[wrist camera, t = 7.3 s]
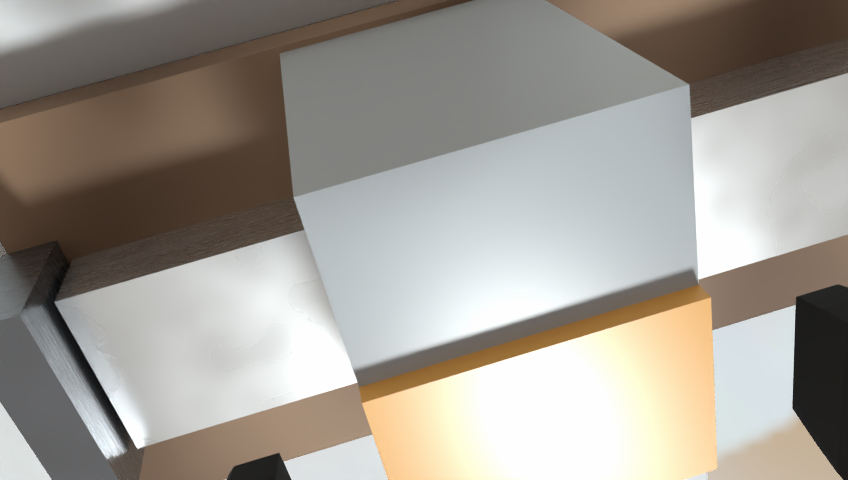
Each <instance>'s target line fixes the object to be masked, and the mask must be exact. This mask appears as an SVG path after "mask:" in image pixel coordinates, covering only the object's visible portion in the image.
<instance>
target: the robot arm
mask: <svg viewBox="0 0 848 480" xmlns="http://www.w3.org/2000/svg"><path fill="white" fill-rule="evenodd" d="M793 410H794V411H795V413H796V414H797V416H798V417H799V419H800V420H801V422H802V423H803V425H804V426H805V427H806V429H807V431H808V432H809V433H810V435H811V436H812V438H813V439H814V441H815V442H816V444H817V445H818V447H819V448H820V449H821V451H822V452H823V454H824V455H825V456H826V458H827V459H828V460H829V462H830V463H831V465H832V466H833V467H834V469H835V470H836V472H837V473H838V474H839V475H840V476H841V477H842V479H843V480H848V287H845V286H842V285H839V284H837V285H834V286H830V287H827V288H824V289H820V290H817V291H814V292H810V293H807V294H804V295H800V296H797V297H796V315H795V346H794V378H793ZM227 480H291V478H290V476H289V474H288V471H287V469H286V467H285V464H284V462H283V460H282V458H281V455H280V453H276V454H273V455H269V456H266V457H263V458H259V459H256V460H253V461H250V462H246V463H243V464H240V465H236V466H234V467H233V469H232V470H231V472H230V473H229V475H228V478H227Z"/></svg>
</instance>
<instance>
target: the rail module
mask: <svg viewBox="0 0 848 480" xmlns="http://www.w3.org/2000/svg"><path fill="white" fill-rule="evenodd" d="M280 63H281V73H282V84H283V94H284V104H285V115H286V125H287V135H288V146H289V156H290V166H291V177H292V187H293V197H294V200H295V203H296V206H297V209H298V212H299V215H300V218H301V221H302V224H303V226H304V229H305V232H306V235H307V238H308V241H309V244H310V247H311V250H312V253H313V255H314V258H315V261H316V264H317V267H318V270H319V273H320V276H321V279H322V282H323V285H324V287H325V290H326V293H327V296H328V299H329V302H330V305H331V308H332V311H333V314H334V316H335V319H336V322H337V325H338V328H339V331H340V334H341V337H342V340H343V343H344V345H345V348H346V351H347V354H348V357H349V360H350V363H351V366H352V369H353V372H354V375H355V377H356V380H357V383H358V386H359V391H360V396H361V402H362V405H363V408H364V411H365V414H366V417H367V420H368V423H369V425H370V428H371V431H372V434H373V437H374V440H375V443H376V446H377V449H378V451H379V454H380V457H381V460H382V463H383V466H384V469H385V472H386V474H387V477H388V480H708V474H707V472H709V471H712V470H716V469H717V445H716V418H715V391H714V364H713V337H712V309H711V297H710V296H709V295H708V294H707V293H706V292H705V291H704V290H703V289H702V288H701V287H700V286H699V280H698V258H697V237H696V215H695V194H694V172H693V151H692V129H691V108H690V86H689V84H688V83H686V82H684V81H683V80H681V79H679V78H677V77H676V76H674V75H672V74H671V73H669V72H667V71H665V70H664V69H662V68H660V67H659V66H657V65H655V64H654V63H652V62H650V61H648V60H647V59H645V58H643V57H642V56H640V55H638V54H636V53H635V52H633V51H631V50H630V49H628V48H626V47H624V46H623V45H621V44H619V43H618V42H616V41H614V40H613V39H611V38H609V37H607V36H606V35H604V34H602V33H601V32H599V31H597V30H595V29H594V28H592V27H590V26H589V25H587V24H585V23H583V22H582V21H580V20H578V19H577V18H575V17H573V16H572V15H570V14H568V13H566V12H565V11H563V10H561V9H560V8H558V7H556V6H554V5H553V4H551V3H549V2H548V1H546V0H473V1H469V2H465V3H462V4H458V5H454V6H451V7H447V8H443V9H440V10H436V11H432V12H429V13H425V14H422V15H418V16H414V17H411V18H407V19H403V20H400V21H396V22H392V23H389V24H385V25H381V26H378V27H374V28H370V29H367V30H363V31H359V32H356V33H352V34H348V35H345V36H341V37H337V38H334V39H330V40H326V41H323V42H319V43H315V44H312V45H308V46H305V47H301V48H297V49H294V50H290V51H286V52H283V53H280Z"/></svg>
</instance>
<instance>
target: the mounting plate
mask: <svg viewBox="0 0 848 480" xmlns="http://www.w3.org/2000/svg"><path fill="white" fill-rule="evenodd" d="M469 1H473V0H399V1H395V2H392V3H388V4H384V5H381V6H377V7H373V8H370V9H366V10H362V11H359V12H355V13H351V14H348V15H344V16H340V17H337V18H333V19H329V20H326V21H322V22H318V23H315V24H311V25H307V26H304V27H300V28H296V29H293V30H289V31H285V32H282V33H278V34H274V35H270V36H267V37H263V38H259V39H256V40H252V41H248V42H245V43H241V44H237V45H234V46H230V47H226V48H223V49H219V50H215V51H212V52H208V53H204V54H201V55H197V56H193V57H190V58H186V59H182V60H179V61H175V62H171V63H168V64H164V65H160V66H157V67H153V68H149V69H146V70H142V71H138V72H135V73H131V74H127V75H124V76H120V77H116V78H113V79H109V80H105V81H102V82H98V83H94V84H91V85H87V86H83V87H80V88H76V89H72V90H69V91H65V92H61V93H58V94H54V95H50V96H47V97H43V98H39V99H36V100H32V101H28V102H24V103H21V104H17V105H13V106H10V107H6V108H2V109H0V242H1V243H2V245H3V247H4V248H5V250H6V252H7V254H9V253H13V252H16V251H20V250H23V249H27V248H30V247H34V246H37V245H41V244H45V243H48V242H52V241H55V240H57V242H58V244H59V246H60V248H61V249H62V251H63V253H64V255H65V257H66V259H67V261H68V262H69V264H71V262H72V260H73V259H75V258H78V257H82V256H85V255H89V254H92V253H96V252H99V251H103V250H106V249H110V248H113V247H117V246H120V245H124V244H127V243H131V242H134V241H138V240H141V239H145V238H148V237H152V236H155V235H159V234H162V233H166V232H169V231H173V230H176V229H180V228H183V227H187V226H190V225H194V224H197V223H201V222H204V221H208V220H211V219H215V218H218V217H222V216H225V215H229V214H232V213H236V212H239V211H243V210H246V209H250V208H253V207H257V206H260V205H264V204H267V203H271V202H274V201H278V200H281V199H285V198H288V197H292V196H293V187H292V177H291V166H290V156H289V146H288V135H287V125H286V115H285V104H284V94H283V84H282V73H281V63H280V53H283V52H286V51H290V50H294V49H297V48H301V47H305V46H308V45H312V44H315V43H319V42H323V41H326V40H330V39H334V38H337V37H341V36H345V35H348V34H352V33H356V32H359V31H363V30H367V29H370V28H374V27H378V26H381V25H385V24H389V23H392V22H396V21H400V20H403V19H407V18H411V17H414V16H418V15H422V14H425V13H429V12H432V11H436V10H440V9H443V8H447V7H451V6H454V5H458V4H462V3H465V2H469ZM546 1H548V2H549V3H551V4H553V5H554V6H556V7H558V8H560V9H561V10H563V11H565V12H566V13H568V14H570V15H572V16H573V17H575V18H577V19H578V20H580V21H582V22H583V23H585V24H587V25H589V26H590V27H592V28H594V29H595V30H597V31H599V32H601V33H602V34H604V35H606V36H607V37H609V38H611V39H613V40H614V41H616V42H618V43H619V44H621V45H623V46H624V47H626V48H628V49H630V50H631V51H633V52H635V53H636V54H638V55H640V56H642V57H643V58H645V59H647V60H648V61H650V62H652V63H654V64H655V65H657V66H659V67H660V68H662V69H664V70H665V71H667V72H669V73H671V74H672V75H674V76H676V77H677V78H679V79H681V80H683V81H684V82H686V83H691V82H695V81H698V80H702V79H705V78H709V77H712V76H716V75H719V74H723V73H726V72H730V71H733V70H737V69H740V68H744V67H747V66H751V65H754V64H758V63H761V62H765V61H768V60H772V59H775V58H779V57H782V56H786V55H789V54H793V53H796V52H800V51H803V50H807V49H810V48H814V47H817V46H821V45H824V44H828V43H831V42H835V41H838V40H842V39H845V38H848V0H546ZM698 280H699V286H700V287H701V288H702V289H703V290H704V291H705V292H706V293H707V294H708V295H709V296H710V297H711V309H712V330H714V329H718V328H721V327H724V326H728V325H731V324H734V323H737V322H741V321H744V320H747V319H750V318H754V317H757V316H760V315H763V314H767V313H770V312H773V311H777V310H780V309H783V308H786V307H790V306H793V305H796V297H797V296H800V295H804V294H807V293H810V292H814V291H817V290H820V289H824V288H827V287H830V286H834V285H837V284H839V285H842V286H845V287H848V235H844V236H841V237H838V238H834V239H831V240H828V241H824V242H821V243H818V244H814V245H811V246H808V247H805V248H801V249H798V250H795V251H791V252H788V253H785V254H781V255H778V256H775V257H771V258H768V259H765V260H761V261H758V262H755V263H751V264H748V265H745V266H742V267H738V268H735V269H732V270H728V271H725V272H722V273H718V274H715V275H712V276H708V277H705V278H702V279H698ZM368 435H372V431H371V428H370V425H369V423H368V420H367V417H366V414H365V411H364V408H363V405H362V402H361V396H360V391H359V386H358V383H354V384H350V385H347V386H344V387H340V388H337V389H334V390H331V391H327V392H324V393H321V394H317V395H314V396H311V397H307V398H304V399H301V400H297V401H294V402H291V403H287V404H284V405H281V406H277V407H274V408H271V409H268V410H264V411H261V412H258V413H254V414H251V415H248V416H244V417H241V418H238V419H234V420H231V421H228V422H224V423H221V424H218V425H214V426H211V427H208V428H205V429H201V430H198V431H195V432H191V433H188V434H185V435H181V436H178V437H175V438H171V439H168V440H165V441H161V442H158V443H155V444H152V445H148V446H145V451H144V456H143V462H142V467H141V473H140V478H139V480H225V479H227V478H228V475H229V473H230V472H231V470H232V469H233V467H234V466H236V465H240V464H243V463H246V462H250V461H253V460H256V459H259V458H263V457H266V456H269V455H273V454H276V453H280V455H281V458H282V460H283V461H287V460H290V459H293V458H296V457H300V456H303V455H306V454H309V453H313V452H316V451H319V450H323V449H326V448H329V447H332V446H336V445H339V444H342V443H345V442H349V441H352V440H355V439H358V438H362V437H365V436H368Z"/></svg>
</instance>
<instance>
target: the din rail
mask: <svg viewBox="0 0 848 480" xmlns="http://www.w3.org/2000/svg"><path fill="white" fill-rule="evenodd" d="M688 84H689V86H690V108H691V129H692V151H693V172H694V194H695V215H696V237H697V258H698V279H702V278H705V277H708V276H712V275H715V274H718V273H722V272H725V271H728V270H732V269H735V268H738V267H742V266H745V265H748V264H751V263H755V262H758V261H761V260H765V259H768V258H771V257H775V256H778V255H781V254H785V253H788V252H791V251H795V250H798V249H801V248H805V247H808V246H811V245H814V244H818V243H821V242H824V241H828V240H831V239H834V238H838V237H841V236H844V235H848V38H845V39H842V40H838V41H835V42H831V43H828V44H824V45H821V46H817V47H814V48H810V49H807V50H803V51H800V52H796V53H793V54H789V55H786V56H782V57H779V58H775V59H772V60H768V61H765V62H761V63H758V64H754V65H751V66H747V67H744V68H740V69H737V70H733V71H730V72H726V73H723V74H719V75H716V76H712V77H709V78H705V79H702V80H698V81H695V82H691V83H688ZM354 383H357V380H356V377H355V375H354V372H353V369H352V366H351V363H350V360H349V357H348V354H347V351H346V348H345V345H344V343H343V340H342V337H341V334H340V331H339V328H338V325H337V322H336V319H335V316H334V314H333V311H332V308H331V305H330V302H329V299H328V296H327V293H326V290H325V287H324V285H323V282H322V279H321V276H320V273H319V270H318V267H317V264H316V261H315V258H314V255H313V253H312V250H311V247H310V244H309V241H308V238H307V235H306V232H305V229H304V226H303V224H302V221H301V218H300V215H299V212H298V209H297V206H296V203H295V200H294V197H293V196H292V197H288V198H285V199H281V200H278V201H274V202H271V203H267V204H264V205H260V206H257V207H253V208H250V209H246V210H243V211H239V212H236V213H232V214H229V215H225V216H222V217H218V218H215V219H211V220H208V221H204V222H201V223H197V224H194V225H190V226H187V227H183V228H180V229H176V230H173V231H169V232H166V233H162V234H159V235H155V236H152V237H148V238H145V239H141V240H138V241H134V242H131V243H127V244H124V245H120V246H117V247H113V248H110V249H106V250H103V251H99V252H96V253H92V254H89V255H85V256H82V257H78V258H75V259H73V260H72V262H71V264H69V262H68V261H67V259H66V257H65V255H64V253H63V251H62V249H61V248H60V246H59V244H58V242H57V240H55V241H52V242H48V243H45V244H41V245H37V246H34V247H30V248H27V249H23V250H20V251H16V252H13V253H9V254H6V255H2V257H1V258H0V402H1V403H2V405H3V406H4V408H5V409H6V411H7V413H8V414H9V416H10V417H11V419H12V420H13V422H14V423H15V425H16V426H17V428H18V429H19V431H20V432H21V434H22V435H23V437H24V438H25V440H26V441H27V443H28V444H29V446H30V447H31V449H32V450H33V452H34V453H35V455H36V456H37V458H38V459H39V461H40V462H41V464H42V465H43V467H44V468H45V470H46V471H47V473H48V474H49V476H50V477H51V479H52V480H139V478H140V473H141V467H142V462H143V456H144V451H145V446H148V445H152V444H155V443H158V442H161V441H165V440H168V439H171V438H175V437H178V436H181V435H185V434H188V433H191V432H195V431H198V430H201V429H205V428H208V427H211V426H214V425H218V424H221V423H224V422H228V421H231V420H234V419H238V418H241V417H244V416H248V415H251V414H254V413H258V412H261V411H264V410H268V409H271V408H274V407H277V406H281V405H284V404H287V403H291V402H294V401H297V400H301V399H304V398H307V397H311V396H314V395H317V394H321V393H324V392H327V391H331V390H334V389H337V388H340V387H344V386H347V385H350V384H354Z"/></svg>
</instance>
